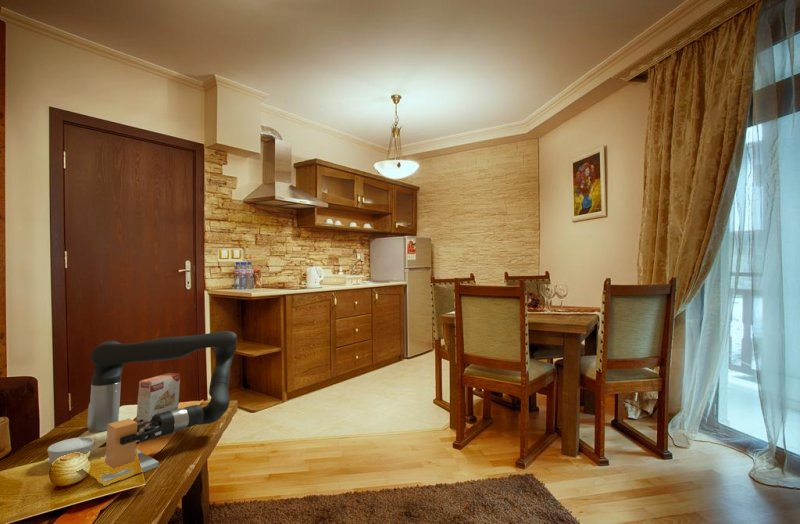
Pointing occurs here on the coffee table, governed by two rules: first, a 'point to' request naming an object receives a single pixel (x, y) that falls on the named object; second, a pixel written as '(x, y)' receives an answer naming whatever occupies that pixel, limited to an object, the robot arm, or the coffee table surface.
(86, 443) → the ramekin
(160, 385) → the cracker box
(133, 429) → the tan upright sponge
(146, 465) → the post stand
